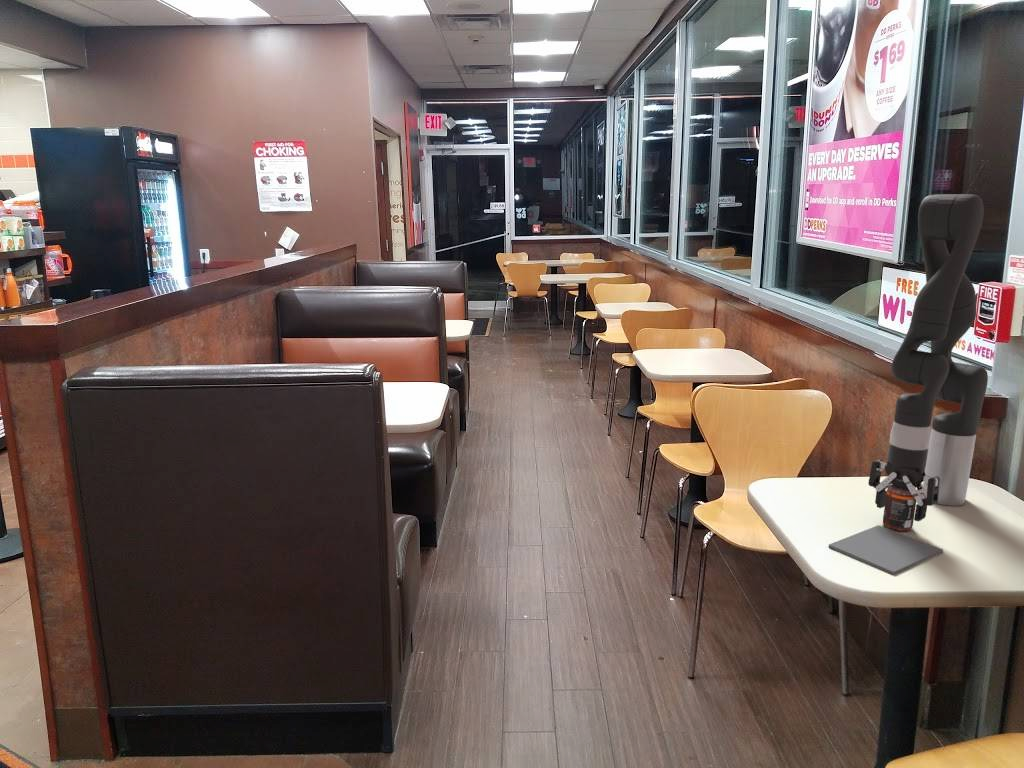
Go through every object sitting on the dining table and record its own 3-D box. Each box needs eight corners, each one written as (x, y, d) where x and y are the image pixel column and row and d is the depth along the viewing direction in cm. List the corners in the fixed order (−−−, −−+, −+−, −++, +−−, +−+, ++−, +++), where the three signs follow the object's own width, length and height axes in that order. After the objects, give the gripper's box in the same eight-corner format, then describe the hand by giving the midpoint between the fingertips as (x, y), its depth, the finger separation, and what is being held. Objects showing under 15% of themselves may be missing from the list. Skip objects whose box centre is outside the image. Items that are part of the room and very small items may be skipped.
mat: (878, 527, 167) (878, 525, 167) (942, 552, 156) (943, 549, 156) (828, 547, 157) (828, 544, 157) (893, 574, 146) (893, 571, 146)
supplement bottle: (915, 533, 164) (923, 484, 162) (886, 531, 165) (893, 482, 163) (907, 522, 170) (914, 474, 167) (879, 520, 171) (885, 472, 168)
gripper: (952, 449, 159) (940, 521, 163) (887, 431, 171) (878, 499, 175) (933, 455, 155) (921, 529, 159) (867, 437, 167) (858, 506, 171)
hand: (898, 513), depth 167 cm, fingers open, 8 cm apart
